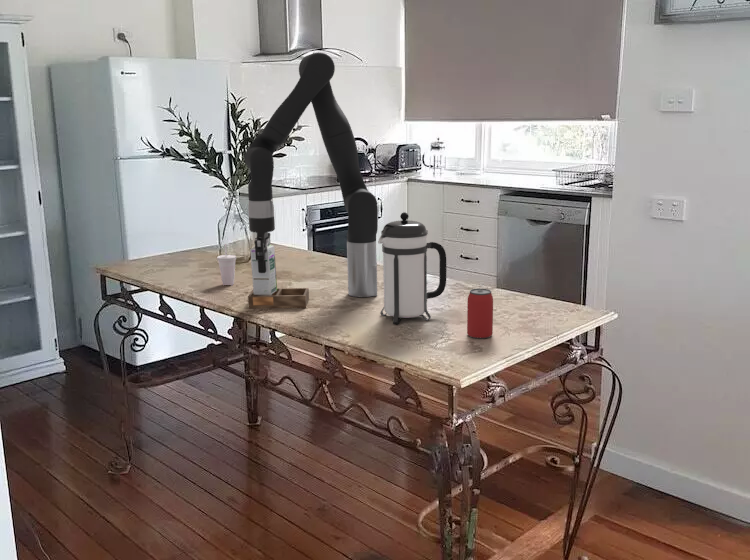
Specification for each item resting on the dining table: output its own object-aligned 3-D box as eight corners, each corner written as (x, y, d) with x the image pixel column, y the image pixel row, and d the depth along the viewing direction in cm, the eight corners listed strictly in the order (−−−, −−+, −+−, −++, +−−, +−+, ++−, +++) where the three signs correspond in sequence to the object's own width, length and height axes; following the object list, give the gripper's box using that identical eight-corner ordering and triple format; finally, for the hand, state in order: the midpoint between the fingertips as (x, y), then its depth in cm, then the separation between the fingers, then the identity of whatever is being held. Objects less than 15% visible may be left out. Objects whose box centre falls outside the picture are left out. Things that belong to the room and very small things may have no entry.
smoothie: (217, 287, 254) (214, 245, 250) (220, 282, 260) (217, 242, 257) (236, 286, 254) (234, 245, 250) (239, 282, 260) (236, 241, 257)
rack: (309, 299, 235) (308, 287, 235) (305, 308, 226) (305, 295, 225) (254, 300, 236) (253, 288, 235) (248, 308, 227) (247, 296, 226)
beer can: (491, 331, 201) (491, 287, 198) (493, 339, 194) (494, 294, 192) (466, 331, 201) (466, 287, 198) (468, 339, 195) (468, 294, 192)
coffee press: (421, 328, 205) (420, 218, 197) (369, 321, 212) (367, 214, 205) (447, 312, 219) (447, 209, 212) (397, 306, 227) (396, 206, 220)
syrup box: (271, 295, 227) (268, 248, 224) (252, 295, 228) (249, 247, 225) (277, 291, 233) (275, 244, 229) (259, 290, 234) (256, 244, 230)
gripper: (270, 218, 218) (273, 275, 222) (277, 211, 232) (280, 265, 236) (244, 219, 218) (247, 275, 222) (253, 211, 232) (255, 265, 236)
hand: (264, 270), depth 229 cm, fingers closed on syrup box, 6 cm apart
